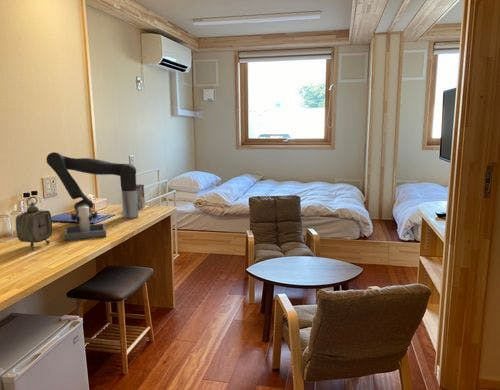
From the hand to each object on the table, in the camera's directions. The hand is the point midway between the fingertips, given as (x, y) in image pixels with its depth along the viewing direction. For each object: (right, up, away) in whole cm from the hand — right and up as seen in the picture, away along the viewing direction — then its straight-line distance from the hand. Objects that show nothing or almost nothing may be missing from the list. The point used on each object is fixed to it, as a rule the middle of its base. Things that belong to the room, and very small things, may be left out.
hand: (84, 219), depth 216 cm
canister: (-1, -6, +4) cm, 7 cm away
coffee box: (+11, +3, +67) cm, 68 cm away
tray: (-1, -9, +4) cm, 10 cm away
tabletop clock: (-17, -13, -16) cm, 27 cm away
